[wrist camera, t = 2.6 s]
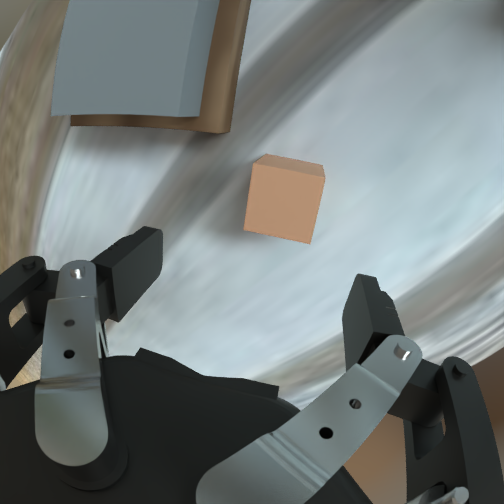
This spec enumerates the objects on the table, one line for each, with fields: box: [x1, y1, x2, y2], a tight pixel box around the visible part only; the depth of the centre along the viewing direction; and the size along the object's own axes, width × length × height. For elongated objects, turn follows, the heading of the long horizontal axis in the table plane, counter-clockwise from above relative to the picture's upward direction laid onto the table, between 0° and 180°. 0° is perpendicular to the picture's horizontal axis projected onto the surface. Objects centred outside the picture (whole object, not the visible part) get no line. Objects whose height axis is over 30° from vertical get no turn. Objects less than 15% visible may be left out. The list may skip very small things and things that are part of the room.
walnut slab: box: [71, 0, 251, 134], centre depth 20 cm, size 16×18×4 cm
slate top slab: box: [51, 0, 220, 117], centre depth 17 cm, size 13×16×4 cm
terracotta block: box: [243, 154, 325, 244], centre depth 23 cm, size 5×5×6 cm
